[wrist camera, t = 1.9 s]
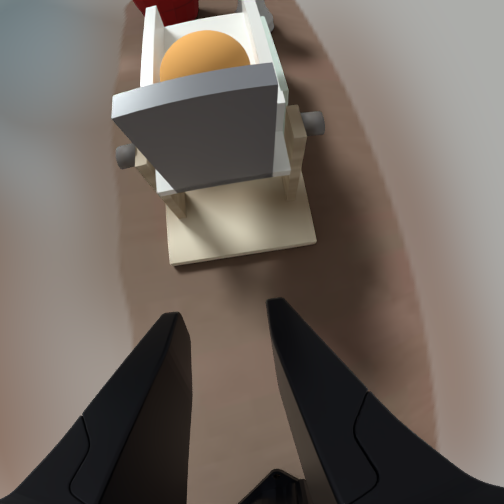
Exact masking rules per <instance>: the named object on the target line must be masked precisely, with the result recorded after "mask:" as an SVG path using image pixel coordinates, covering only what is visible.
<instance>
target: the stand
mask: <svg viewBox="0 0 504 504" xmlns="http://www.w3.org/2000/svg"><path fill="white" fill-rule="evenodd" d="M324 132H325V123H324V118H323V115H322V113H321V111H316V112H305V113H300V110H299V107H298V105H288V106H286V112H285V129H284V140H285V144H286V149H287V154H288V158H289V163H290V168H291V172H290V175H285V176H278V177H271V178H264V179H257V180H251V181H244V182H238V183H232V184H226V185H220V186H214V187H208V188H203V189H197V190H192V191H187V192H181V193H176V194H171V195H166V196H160V195H159V194H158V193H157V187H156V170H155V168H154V167H153V165H152V164H151V163H150V162H149V161H148V160H147V159H146V158H145V156H144V155H143V154H142V153H141V152H140V151H139V150H138V148H137V147H136V146H135V145H134V144H133V143H131V144H127V145H123V146H120V147H117V149H116V160H117V163H118V165H119V167H120V168H121V169H126V168H130V167H134V166H135V167H136V169H137V170H138V171H139V172H140V173H141V175H142V176H143V177H144V178H145V180H146V181H147V182H148V183H149V184H150V186H151V187H152V188H153V189H154V190H155V192H156V193H157V194H158V195H159V196H160V198H161V199H162V200H163V201H164V202H165V204H166V220H167V235H168V248H169V259H170V264H171V265H172V266H177V265H184V264H190V263H197V262H203V261H210V260H216V259H222V258H229V257H235V256H242V255H248V254H255V253H261V252H268V251H274V250H280V249H287V248H293V247H300V246H306V245H312V244H315V243H316V242H317V240H316V235H315V230H314V225H313V221H312V216H311V211H310V207H309V202H308V198H307V193H306V189H305V184H304V180H303V176H302V171H301V167H302V162H303V156H304V151H305V145H306V140H307V136H313V135H323V134H324Z"/></svg>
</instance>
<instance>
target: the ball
mask: <svg viewBox="0 0 504 504" xmlns="http://www.w3.org/2000/svg"><path fill="white" fill-rule="evenodd" d="M246 65H250V60H249V57H248V55H247V53H246V51H245V49H244V48H243V46H242V45H241V44H240V43H239V42H238V41H237V40H235V39H234V38H233V37H231V36H229V35H227V34H225V33H222V32H218V31H213V30H202V31H196V32H192V33H189V34H187V35H185V36H183V37H181V38H180V39H178V40H177V41H176V42H174V43H173V44H172V45H171V47H170V48H169V49H168V50H167V52H166V53H165V55H164V57H163V59H162V62H161V66H160V82H163V81H167V80H171V79H175V78H179V77H184V76H188V75H193V74H198V73H203V72H208V71H214V70H220V69H226V68H232V67H239V66H246Z"/></svg>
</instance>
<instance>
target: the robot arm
mask: <svg viewBox="0 0 504 504" xmlns="http://www.w3.org/2000/svg"><path fill="white" fill-rule="evenodd" d="M266 308H267V315H268V322H269V329H270V336H271V342H272V349H273V355H274V362H275V369H276V375H277V381H278V386H279V390H280V394H281V398H282V401H283V405H284V408H285V411H286V415H287V418H288V422H289V425H290V428H291V432H292V435H293V438H294V442H295V445H296V449H297V452H298V455H299V459H300V462H301V465H302V469H303V472H304V475H305V479H306V480H305V479H299V480H298V479H296V478H295V477H293V476H291V475H289V474H287V473H286V472H284V471H282V470H280V469H274V470H272V471H271V472H270V473H269V474H268V475H267V476H266V477H265V478H264V479H263V480H262V481H261V482H260V483H259V484H258V485H257V486H256V487H255V488H254V489H253V490H252V491H251V492H250V493H249V494H247V495H246V496H245V497H244V498H243V499H242V500H241V501H240V502H239V503H238V504H504V487H500V486H496V485H492V484H488V483H485V482H483V481H480V480H478V479H476V478H474V477H472V476H470V475H468V474H467V473H465V472H464V471H462V470H461V469H459V468H458V467H457V466H455V465H454V464H453V463H451V462H450V461H449V460H448V459H446V458H445V457H444V456H442V455H441V454H440V453H438V452H437V451H436V450H435V449H433V448H432V447H431V446H430V445H428V444H427V443H426V442H424V441H423V440H422V439H421V438H419V437H418V436H417V435H416V434H415V433H413V432H412V431H411V430H410V429H409V428H407V427H406V426H405V425H404V424H403V423H402V422H400V421H399V420H398V419H397V418H396V417H395V416H394V415H393V414H392V413H391V412H390V411H389V410H388V409H387V408H386V407H385V406H384V405H383V404H382V403H381V402H380V401H379V400H378V399H377V398H376V397H375V396H374V394H373V393H372V392H371V391H368V388H367V387H366V386H365V385H364V384H363V383H362V382H361V381H360V380H359V379H358V378H357V377H356V375H355V374H354V373H353V372H352V371H351V370H350V369H349V368H348V367H347V366H346V365H345V364H344V363H343V362H342V360H341V359H340V358H339V357H338V356H337V355H336V354H335V353H334V352H333V351H332V350H331V349H330V348H329V347H328V345H327V344H326V343H325V342H324V341H323V340H322V339H321V338H320V337H319V336H318V335H317V334H316V332H315V331H314V330H313V329H312V328H311V327H310V326H309V325H308V324H307V323H306V322H305V321H304V320H303V318H302V317H301V316H300V315H299V314H298V313H297V312H296V311H295V310H294V309H293V308H292V307H291V305H290V304H289V303H288V302H287V301H286V300H285V299H284V298H282V297H278V298H272V299H267V300H266ZM191 412H192V369H191V341H190V336H189V333H188V330H187V328H186V325H185V323H184V320H183V317H182V315H181V314H180V313H179V312H169V313H164V314H162V315H161V317H160V318H159V319H158V320H157V321H156V323H155V324H154V325H153V326H152V327H151V329H150V330H149V331H148V332H147V333H146V335H145V336H144V337H143V338H142V340H141V341H140V342H139V343H138V344H137V346H136V347H135V348H134V349H133V350H132V352H131V353H130V354H129V355H128V357H127V358H126V359H125V360H124V362H123V363H122V364H121V365H120V367H119V368H118V369H117V370H116V371H115V373H114V374H113V375H112V377H111V378H110V379H109V380H108V382H107V383H106V384H105V385H104V386H103V388H102V389H101V390H100V391H99V393H98V394H97V395H96V397H95V398H94V399H93V400H92V402H91V403H90V404H89V405H88V407H87V408H86V409H85V410H84V412H83V414H82V415H83V416H80V417H79V418H78V419H77V421H76V422H75V423H74V425H73V426H72V427H71V428H70V429H69V431H68V432H67V433H66V434H65V436H64V437H63V438H62V439H61V441H60V442H59V443H58V444H57V445H56V446H55V447H54V449H53V450H52V451H51V452H50V453H49V454H48V455H47V456H46V458H45V459H44V460H43V461H42V462H41V463H40V464H39V465H38V466H37V467H36V468H35V469H34V470H33V471H32V472H31V474H30V475H28V477H27V478H26V479H25V480H24V481H23V482H22V483H21V484H20V485H19V486H18V487H17V488H16V489H15V490H14V491H13V492H12V493H10V494H9V495H7V496H6V497H4V498H2V499H0V504H186V502H187V477H188V458H189V441H190V426H191ZM275 474H279V475H280V476H279V477H274V475H275Z"/></svg>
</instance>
